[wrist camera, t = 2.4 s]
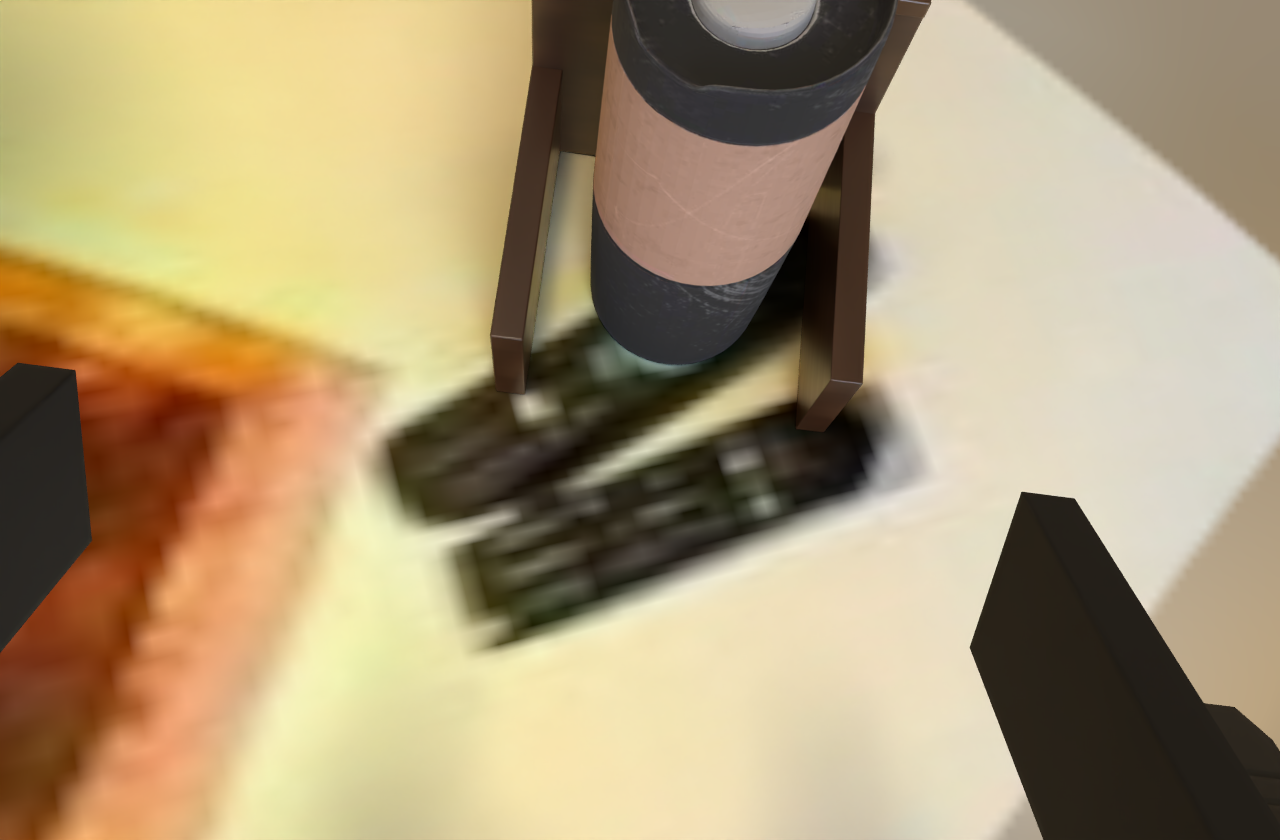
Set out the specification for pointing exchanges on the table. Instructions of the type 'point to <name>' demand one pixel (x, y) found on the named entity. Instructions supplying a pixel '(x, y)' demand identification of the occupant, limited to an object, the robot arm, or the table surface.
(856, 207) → the shelf rack
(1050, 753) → the robot arm
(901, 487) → the table surface
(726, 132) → the travel mug
